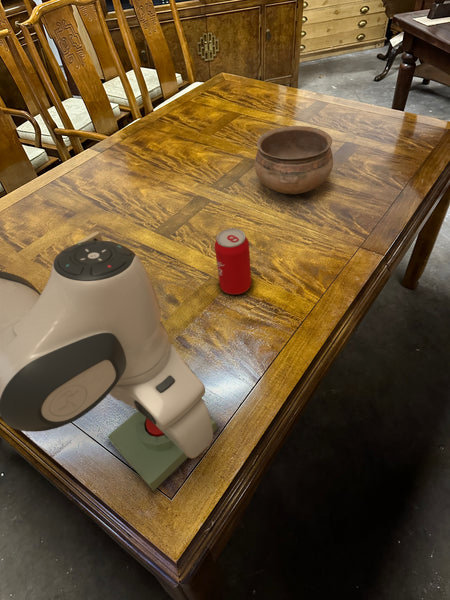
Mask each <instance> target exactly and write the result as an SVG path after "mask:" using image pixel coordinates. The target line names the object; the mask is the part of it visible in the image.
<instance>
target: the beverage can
mask: <svg viewBox="0 0 450 600" xmlns="http://www.w3.org/2000/svg"><path fill="white" fill-rule="evenodd" d="M214 253H215V260H216V267H217V275H218V281H219V282H218V283H219V287H220V289H221V290H222V292H224V293H226V294H229V295H240V294H244V293H246V292H247V291H248V290H249V289H250V288H251V286H252V272H251V271H252V270H251V257H250V242H249V239H248V237H247V236H246V234H245V232H244V231H243V230H241V229H239V228H226V229H223V230H221V231H220V232H219V233H218V234H217V236H216V239H215V241H214Z"/></svg>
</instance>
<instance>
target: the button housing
mask: <svg viewBox="0 0 450 600" xmlns="http://www.w3.org/2000/svg"><path fill="white" fill-rule="evenodd" d="M147 419H148V418H146V417H145V416H144V415H143V414H141V413H140V412H139V411H138V410H136V411H135V412H134V413H133V414H132V415H131V416H129V417H128V419H126V420H125V421H124V422H122V423H121V424H120V425H119V426H118V427H117V428H115V429H114V430H113V431H112V432H110V434H108V435H107V438H108V440H109V442H110V443H111V445H112V446H113V447H114V448H115V449H116V450H117V452H119V453H120V455H121V456H122V457H123V458H124V459H125V460H126V462H127V463H128V464H129V465H130V466H131V467H132V468H133V470H134V471H135V472H136V473H137V474H138V475H139V476H140V477H141V479H142V480H144V482H145V483H146V484H147V485H148V486H149V487H150V488H151V490H152V491H154V492H155V490H156V489H158V487H159V486H160V485H161V484H163V483H164V482H165V481H166V479H168V478H169V477H170V476H171V475H172V474H173V473H174V472H175V471H176V470H177V469H178V468H179V467H180V466H181V465H182V464H183V463H184V462H186V460H187V459H188V458H189V457H187V456H186V455H185V454H184V453H183V452H182V451H181V450H180V449H179V448H178V447H177V446H176V445H175V444H174V443H173V442H172V441H171V440H170V439H169V438H168V437H167V436H166V435H163V436H159V437H155V436H150V434H149V432H148V430H147V427H146V421H147ZM210 419H211V424H212V429H213V434H214V433H215V432H216V431H217V430H218V427H217V426H218V425H217V421H216V420H215V419H214V418H213V417H211V416H210Z"/></svg>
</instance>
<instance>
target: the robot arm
mask: <svg viewBox="0 0 450 600" xmlns="http://www.w3.org/2000/svg"><path fill="white" fill-rule="evenodd" d="M102 240H103V239H102ZM102 240H98V241H95V240H93V241H86V242H81V243H78V244H77V243H75V244H72V245H70V246H68V247H66V248H64V249H63V250H61V251H60V252H59V253H57V255H56V256H55V257H54V259H53V262H52V263H51V270H50V274H49V277H48V280H47V282H46V284H45V286H44V288H43V290H42V291H41V292H40V291H39V290H38V289H37V288H36V286H35V285H34V284H33V283H32V282H30V281H29V280H27V279H26V278H24V277H22V276H19V275H18V274H14V273H11V272H7V271H2V270H0V418H1V420H2V421H3V422H4V423H5V424H6V425H7V426H8V427H9V428H12V429H14V430H16V431H22V432H31V433H32V432H33V433H35V432H36V433H37V432H45V431H51V430H56V429H59V428H61V427H64V426H67V425H69V424H71V423H73V422H75V421H77V420H79V419H81V418H82V417H84V416H85V415H86V414H88V413H90V411H92V410H93V409H95V408H96V407H97V406H98V405H99V404H100V403H101V402H102V401H104V399H106V397H107V396H108V395H109V396H111V397H112V398H114V399H115V400H117V401H121V402H123V403H124V404H125V405H127V406H129V407H131V408H132V409H134V410H136V411H139V412H140V413H141V414H143V415H144V416H145V417H146V418H148V419H149V420H150V421H151V422H152V423H153V424H155V425H156V427H157V428H159V430H160V431H162V432H163V433H164V434H165V435H166V436H167V437H168V438H169V439H170V440H171V441H172V442H173V443H174V444H175V445H176V446H177V447H178V448H179V449H180V450H181V451H182V452H183V453H184V454H185V455H186V456H187V457H188V458H189V459H195V458H197V457H198V456H199V455H200V454H202V452H204V451H205V450H206V449H207V448H208V447H209V446H210V444H211V443H212V441H213V439H214V433H213V429H212V424H211V419H210V417H211V415H210V411H209V409H208V407H207V404H206V403H205V401H204V399H203V396H205V394H206V388H205V387H206V386H205V384H204V383H203V382H202V380H201V379H200V378H199V377H198V375H197V374H196V373H195V372H194V371H193V370H192V369H191V367H190V366H189V365H188V364H187V363H186V362H185V361H184V359H183V358H182V357H181V355H180V354H179V352H178V350H177V349H176V347H175V345H174V344H173V343H172V342H171V341H170V338H169V334H168V331H167V329H166V327H165V325H164V324H163V322H162V321H161V320H162V312H161V311H162V310H161V305H160V303H159V299H158V296H157V293H156V290H155V287H154V285H153V282H152V279H151V277H150V274H149V273H148V271H147V268H146V267H145V265H144V263H143V262H142V259H141V258H140V257H139V256H138V254H136V252H134V251H133V250H132V249H131V248H129V247H127V246H125V245H123V244H121V243H118V242H115V241H112V240H111V241H112V242H111V241H106V240H103V241H102Z"/></svg>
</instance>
